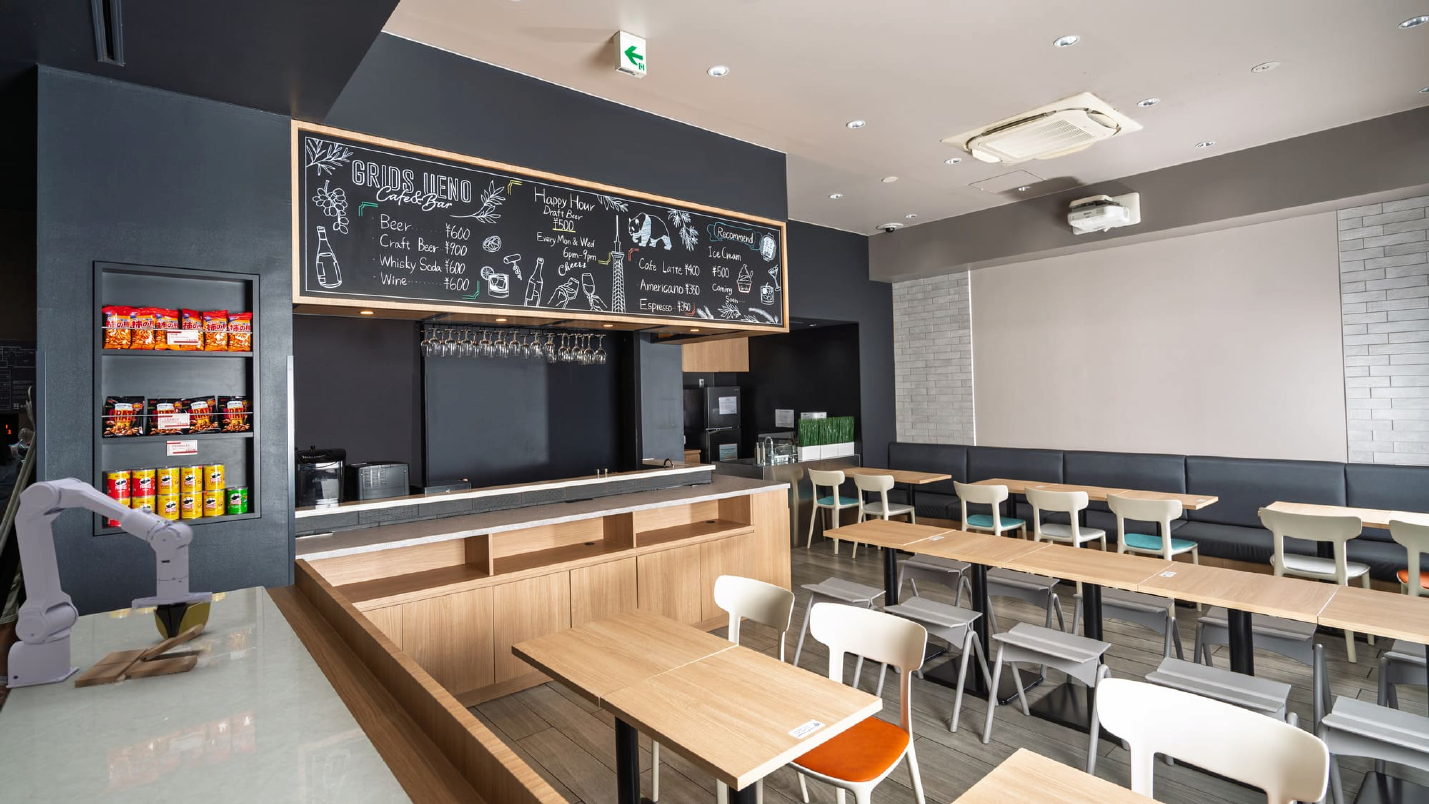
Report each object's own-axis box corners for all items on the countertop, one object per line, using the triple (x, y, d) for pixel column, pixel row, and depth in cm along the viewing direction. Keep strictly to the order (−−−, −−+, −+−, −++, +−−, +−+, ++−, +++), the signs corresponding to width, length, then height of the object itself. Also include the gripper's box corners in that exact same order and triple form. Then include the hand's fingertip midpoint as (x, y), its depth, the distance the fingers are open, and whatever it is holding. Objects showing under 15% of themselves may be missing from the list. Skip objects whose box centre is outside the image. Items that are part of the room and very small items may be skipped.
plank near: (124, 679, 150) (124, 672, 150) (135, 670, 156) (135, 663, 156) (188, 670, 155) (188, 663, 155) (197, 661, 160) (197, 654, 160)
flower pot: (186, 643, 173) (186, 608, 173) (152, 644, 173) (152, 608, 173) (212, 632, 181) (212, 598, 181) (180, 632, 182) (180, 598, 182)
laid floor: (74, 687, 146) (74, 680, 146) (111, 658, 163) (111, 652, 163) (122, 681, 149) (122, 674, 149) (153, 653, 166) (153, 647, 166)
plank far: (141, 663, 159) (138, 657, 159) (151, 654, 165) (148, 649, 165) (196, 635, 163) (193, 630, 163) (204, 628, 169) (201, 622, 169)
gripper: (125, 585, 150) (126, 646, 150) (205, 578, 155) (206, 637, 155) (138, 577, 156) (139, 636, 156) (214, 571, 162) (215, 628, 162)
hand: (173, 636), depth 156 cm, fingers closed
